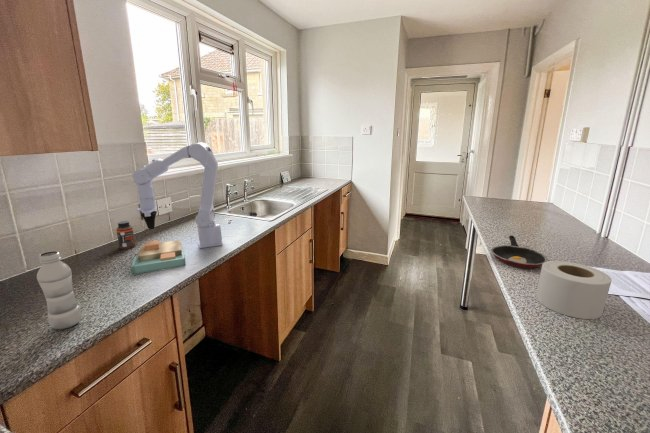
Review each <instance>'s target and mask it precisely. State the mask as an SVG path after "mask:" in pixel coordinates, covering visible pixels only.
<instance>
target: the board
mask: <svg viewBox="0 0 650 433" xmlns="http://www.w3.org/2000/svg"><path fill="white" fill-rule="evenodd" d="M159 243H160V247H159V249H153V250H146V251H145V247H144V246H145V244H142V245H140V249H139V250H138V251H139V252H138V255H137V258H138V262H141V261H147V260H153V259H160V257H161V254H165V253H171V252H175V255H176V256H179V255H182V242H181V239H179V240H178V239H177V240H170V241H164V242H163V241H162V242H159Z"/></svg>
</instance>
